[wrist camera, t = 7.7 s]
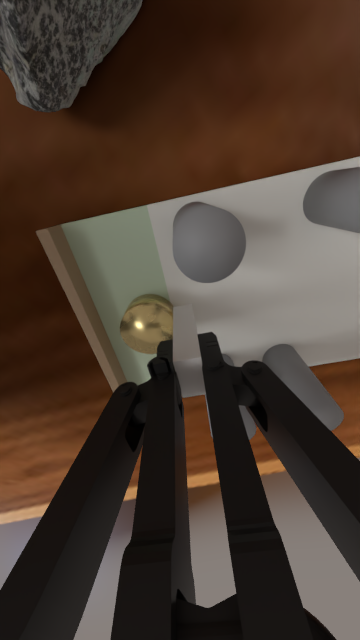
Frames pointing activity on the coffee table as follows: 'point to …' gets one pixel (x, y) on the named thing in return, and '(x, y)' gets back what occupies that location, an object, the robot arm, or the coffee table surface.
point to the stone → (58, 45)
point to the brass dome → (147, 323)
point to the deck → (229, 275)
